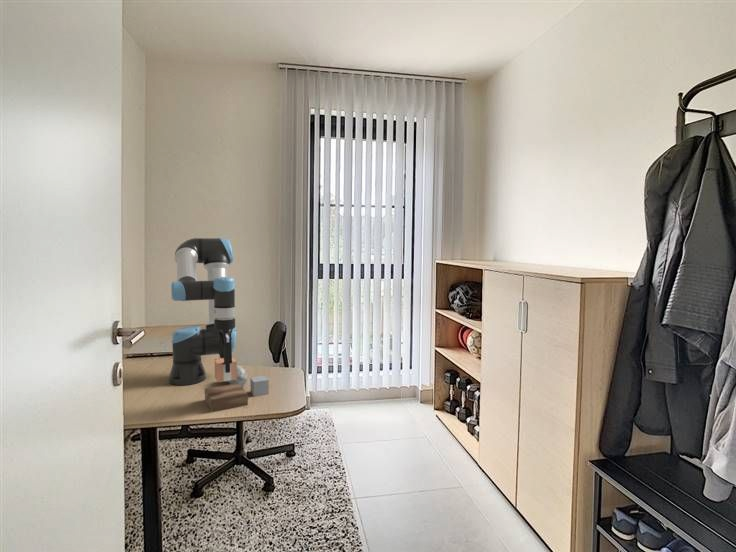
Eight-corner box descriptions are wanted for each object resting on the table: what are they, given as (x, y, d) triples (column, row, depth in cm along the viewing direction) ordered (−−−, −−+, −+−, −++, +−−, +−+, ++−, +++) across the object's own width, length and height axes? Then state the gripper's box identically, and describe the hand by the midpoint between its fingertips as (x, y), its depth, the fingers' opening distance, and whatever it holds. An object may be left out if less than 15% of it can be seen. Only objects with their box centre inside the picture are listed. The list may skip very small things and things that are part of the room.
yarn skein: (216, 374, 188) (228, 355, 187) (236, 380, 193) (247, 361, 192) (221, 391, 176) (234, 371, 176) (242, 397, 181) (254, 377, 181)
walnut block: (204, 401, 167) (204, 388, 166) (238, 395, 174) (238, 383, 173) (212, 413, 156) (212, 399, 155) (247, 406, 163) (247, 393, 162)
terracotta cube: (214, 376, 165) (214, 359, 165) (233, 374, 168) (233, 357, 168) (217, 382, 159) (217, 363, 158) (236, 379, 162) (236, 361, 161)
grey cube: (250, 391, 177) (250, 377, 176) (265, 389, 179) (264, 375, 179) (253, 396, 171) (253, 382, 171) (268, 394, 174) (268, 379, 174)
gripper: (210, 314, 169) (211, 371, 171) (218, 323, 151) (219, 386, 153) (230, 313, 172) (231, 369, 174) (240, 322, 155) (240, 383, 156)
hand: (225, 377), depth 164 cm, fingers closed on terracotta cube, 7 cm apart
